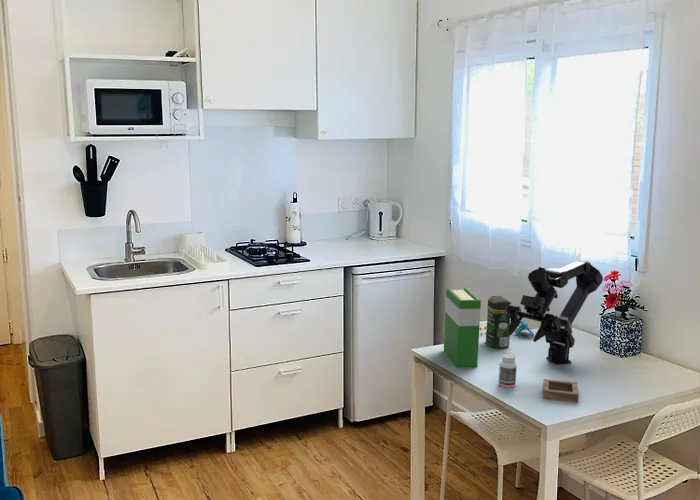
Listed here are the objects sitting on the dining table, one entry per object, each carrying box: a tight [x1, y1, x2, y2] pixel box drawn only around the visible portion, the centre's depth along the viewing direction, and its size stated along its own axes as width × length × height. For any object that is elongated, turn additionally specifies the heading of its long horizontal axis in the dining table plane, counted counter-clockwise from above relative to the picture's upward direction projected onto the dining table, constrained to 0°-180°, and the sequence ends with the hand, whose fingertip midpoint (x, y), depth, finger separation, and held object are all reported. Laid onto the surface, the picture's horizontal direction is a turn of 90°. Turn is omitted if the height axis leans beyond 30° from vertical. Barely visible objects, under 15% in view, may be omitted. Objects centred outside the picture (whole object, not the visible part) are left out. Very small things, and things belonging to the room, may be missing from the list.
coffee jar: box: [485, 295, 512, 349], centre depth 272 cm, size 10×8×19 cm
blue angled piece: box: [514, 320, 535, 337], centre depth 287 cm, size 11×6×10 cm
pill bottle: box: [498, 353, 518, 389], centre depth 234 cm, size 5×5×10 cm
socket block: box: [542, 378, 580, 404], centre depth 227 cm, size 10×10×3 cm
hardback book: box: [443, 287, 482, 369], centre depth 256 cm, size 18×7×24 cm, turn 7°
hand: (521, 337), depth 238 cm, fingers open, 9 cm apart
